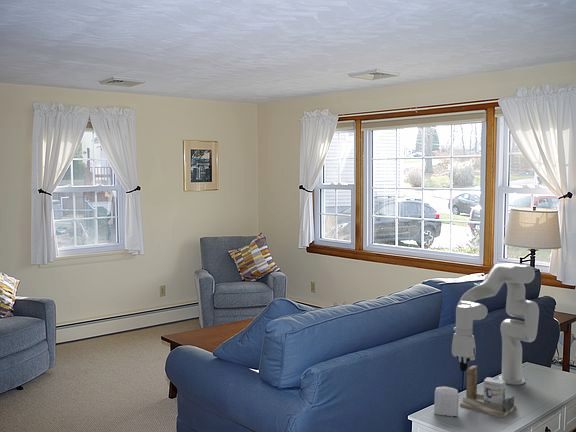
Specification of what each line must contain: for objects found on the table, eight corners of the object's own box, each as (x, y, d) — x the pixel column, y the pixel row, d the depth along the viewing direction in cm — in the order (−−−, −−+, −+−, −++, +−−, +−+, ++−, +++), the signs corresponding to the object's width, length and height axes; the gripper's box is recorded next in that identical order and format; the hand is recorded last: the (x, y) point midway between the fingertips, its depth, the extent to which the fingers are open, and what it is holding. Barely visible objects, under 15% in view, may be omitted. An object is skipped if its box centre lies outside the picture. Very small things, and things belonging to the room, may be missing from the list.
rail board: (474, 397, 288) (474, 383, 288) (516, 408, 275) (516, 394, 274) (460, 405, 278) (460, 391, 277) (502, 417, 264) (503, 403, 264)
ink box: (505, 405, 274) (505, 380, 273) (502, 409, 270) (503, 383, 269) (486, 401, 279) (486, 376, 278) (482, 405, 274) (483, 379, 273)
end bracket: (472, 396, 285) (473, 365, 283) (476, 397, 283) (477, 366, 282) (466, 400, 280) (466, 368, 279) (470, 401, 279) (470, 369, 277)
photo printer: (458, 414, 269) (458, 386, 268) (458, 417, 265) (458, 390, 264) (434, 411, 272) (434, 384, 271) (433, 415, 268) (434, 387, 267)
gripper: (445, 330, 284) (445, 369, 286) (475, 336, 274) (474, 376, 276) (453, 327, 290) (452, 365, 291) (483, 333, 280) (482, 372, 281)
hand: (463, 370), depth 283 cm, fingers closed
